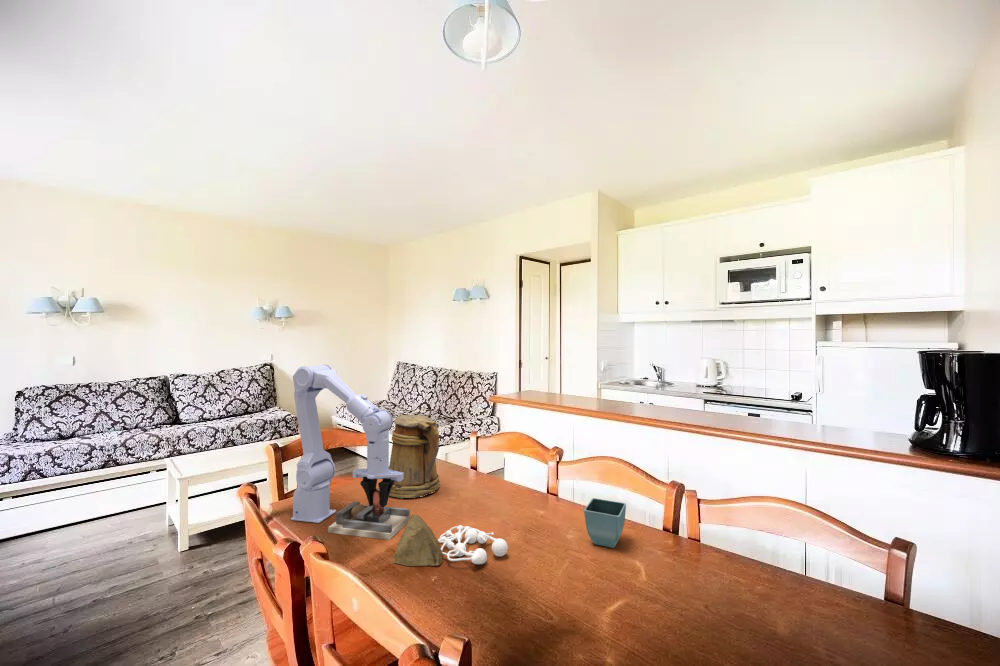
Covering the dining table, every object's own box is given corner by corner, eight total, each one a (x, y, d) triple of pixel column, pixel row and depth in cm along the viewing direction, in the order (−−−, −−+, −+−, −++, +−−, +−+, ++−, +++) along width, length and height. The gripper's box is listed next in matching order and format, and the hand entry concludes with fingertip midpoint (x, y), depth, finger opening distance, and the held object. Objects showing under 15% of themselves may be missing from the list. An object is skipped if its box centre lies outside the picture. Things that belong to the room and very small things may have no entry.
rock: (455, 549, 94) (429, 529, 101) (440, 528, 90) (414, 510, 97) (423, 592, 89) (397, 569, 95) (405, 573, 84) (380, 550, 91)
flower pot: (583, 546, 100) (583, 509, 100) (592, 531, 107) (592, 497, 108) (620, 554, 96) (619, 516, 96) (627, 538, 103) (626, 503, 104)
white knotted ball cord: (423, 547, 103) (422, 531, 103) (471, 526, 111) (470, 511, 111) (462, 581, 87) (460, 562, 87) (514, 554, 95) (513, 536, 95)
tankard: (414, 477, 152) (414, 410, 152) (460, 490, 137) (459, 417, 138) (373, 491, 138) (373, 417, 138) (418, 508, 123) (418, 426, 124)
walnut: (348, 521, 111) (348, 507, 111) (356, 515, 115) (356, 501, 115) (361, 523, 110) (361, 508, 110) (369, 516, 114) (369, 502, 114)
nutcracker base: (328, 532, 108) (328, 515, 108) (354, 513, 120) (354, 498, 120) (389, 539, 104) (389, 522, 104) (410, 519, 115) (410, 503, 115)
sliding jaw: (356, 525, 108) (356, 494, 108) (373, 513, 116) (373, 484, 116) (377, 527, 107) (376, 496, 107) (392, 515, 114) (391, 485, 115)
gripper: (346, 458, 109) (346, 508, 109) (394, 461, 106) (394, 513, 106) (360, 451, 116) (361, 498, 116) (407, 454, 113) (407, 503, 112)
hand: (378, 505), depth 111 cm, fingers closed on sliding jaw, 3 cm apart
